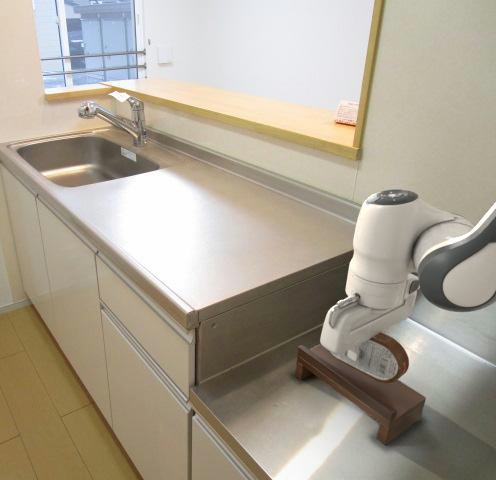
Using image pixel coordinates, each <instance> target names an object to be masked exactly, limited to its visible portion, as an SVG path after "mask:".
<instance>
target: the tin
mask: <svg viewBox="0 0 496 480" xmlns="http://www.w3.org/2000/svg"><path fill="white" fill-rule="evenodd" d="M359 349H360V350H362V351H363V353H362V355H361V356H362V358H360V359H358V360H357V361H353V360H352V359H350V358H349V357H348V351H349V350H348V351H346V352H344V353H342V354H340V355H335V354H333V353H332V352H330V351H329V350H327V351H328V352H329V353H330V354H331V355H332V356H333V357H334V358H335V359H337V360H339V361H340V362H342V363H344V364H346V365H348V366H350V367H352V368H353V369H355V370H357V371H359V372H361V373H363V374H365V375H367V376H368V377H370V378H372V379H374V380H376V381H379V382H382V383H392V382H394V381H396V380H399V379H400V378H402V377H403V376H404V375H405V374H406V373H407V372H408V370H409V368H410V359H409V358H410V357H409V355H408V352H407V351H406V348H404V346H403V345H402V344H401V343H400V341H398V340H397V339H395V338H394V337H392V336H390V335H388V334H385V332H384V333H381V332H380V333H379V334H377V335H375V336H373V337H372V338H370V339H369V340H367V341H365V342H363V343H361V346H359Z"/></svg>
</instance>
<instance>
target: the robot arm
mask: <svg viewBox="0 0 496 480" xmlns="http://www.w3.org/2000/svg"><path fill="white" fill-rule="evenodd" d="M352 247H353V255H352V258H351V260H350V262H349V265H348V271H347V277H346V278H347V279H346V285H345V294H346V296H347V297H345V298H344V299H340V300H339V301H337V302H336V304H335V305H333V306H332V307H330V309H329V310H328V311H327V313H326V316H325V319H324V321H323V325H322V329H321V334H320V339H319V342H320V344H322V346H323V347H324V348H326V349H327V350H329V351H330V352H332V353H333V354H335V355H340V354H342V353H344V352H346V351H348V350H349V351H348V357H349V358H350V359H352V360H353V361H357V360H358V359H360V358H362V356H361V355H362V353H363V351H362V350H360V349H359V346H361V343H363V342H365V341H367V340H369V339H370V338H372V337H373V336H375V335H377V334H379V333H380V332H381V333H384V334H385V331H388V330H389V329H391V328H393V327H394V326H397V325H399V324H402V322H404V321H406V320H408V319H409V317H410V316H411V314H412V312H413V310H414V307H415V303H416V299H417V295H418V291H419V290H420V293H421V294H422V296H423V298H425V300H427V301H428V302H429V303H430V304H431V305H433V306H435V307H437V308H439V309H441V310H443V311H448V312H454V313H471V312H476V311H479V310H482V309H486V308H487V307H489V306H492V305H493V304H494V303H496V202H495V203H494V204H493V205H491V207H490V208H489V209H488V211H487V212H486V213H485V214H484V216H483V217H482V218H481V219H480V220H479V222H478V223H477V224H476V225H474V224H473V223H472V222H471V221H470V220H469V219H467V218H466V217H464V216H462V215H460V214H457V213H453V212H448V211H445V210H443V209H440V208H438V207H436V206H434V205H432V204H431V203H428V202H427V201H426V200H424V199H423V198H421V197H420V195H419V194H418V193H416V192H414V191H411V190H406V189H399V188H398V189H397V188H396V189H393V188H392V189H386V190H380V191H378V192H375V193H373V194H371V195H369V196H368V197H366V199H365V200H364V202H363V203H362V205H361V207H360V210H359V213H358V216H357V220H356V224H355V229H354V233H353V240H352ZM413 273H416V274H417V275H415V274H413Z"/></svg>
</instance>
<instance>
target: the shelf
mask: <svg viewBox="0 0 496 480" xmlns="http://www.w3.org/2000/svg"><path fill="white" fill-rule="evenodd" d="M294 373H295V375H294V376H295V377H296V378H298V379H299V380H300V381H302V380H304V379H305V378H308V377H310V376H312V375H315V376H316V377H317V378H318V379H320V380H321V381H322V382H324V383H325V384H326V385H328V386H329V387H330V388H332V389H333V390H335V391H336V392H337V393H339V394H340V395H342V396H343V397H344V398H346V399H347V400H348V401H350V402H351V403H352V404H354V405H355V406H356V407H358V408H359V409H360V410H362V411H363V412H365V413H366V414H367V415H368V416H370V417H371V418H373V420H375V421H376V422H378V423H379V426H378V430H377V435H376V440H377V441H379V442H380V444H382V445H384V446H385V445H387V444H389V443H391V442H392V440H394V439H396V438H397V437H398V436H399V435H401V434H402V433H404V432H405V431H406V430H408V429H409V428H411V427H412V426H414V425H415V424H416V423H418V422H419V421H420V420H421V418H422V415H423V411H424V408H425V403H426V399H427V397H426V396H424V395H423V394H421V393H420V392H418V391H417V390H415V389H413V388H412V387H410V386H409V385H407V384H405V383H404V382H403V381H400V380H399V379H398V380H396V381H394V382H392V383H382V382H379V381H376V380H374V379H372V378H370V377H368V376H367V375H365V374H363V373H361V372H359V371H357V370H355V369H353V368H352V367H350V366H348V365H346V364H344V363H342V362H340V361H339V360H337V359H335V358H334V357H333V356H332V355H331V354H330V353H329V352H328V351H327V349H326V348H324V347H323V346H322V344H321V343H319V344H318V345H315V346H314V347H311V348H308V347H307V346H306V345H303V344H302V345H300V346H298V348H297V356H296V363H295V372H294Z"/></svg>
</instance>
